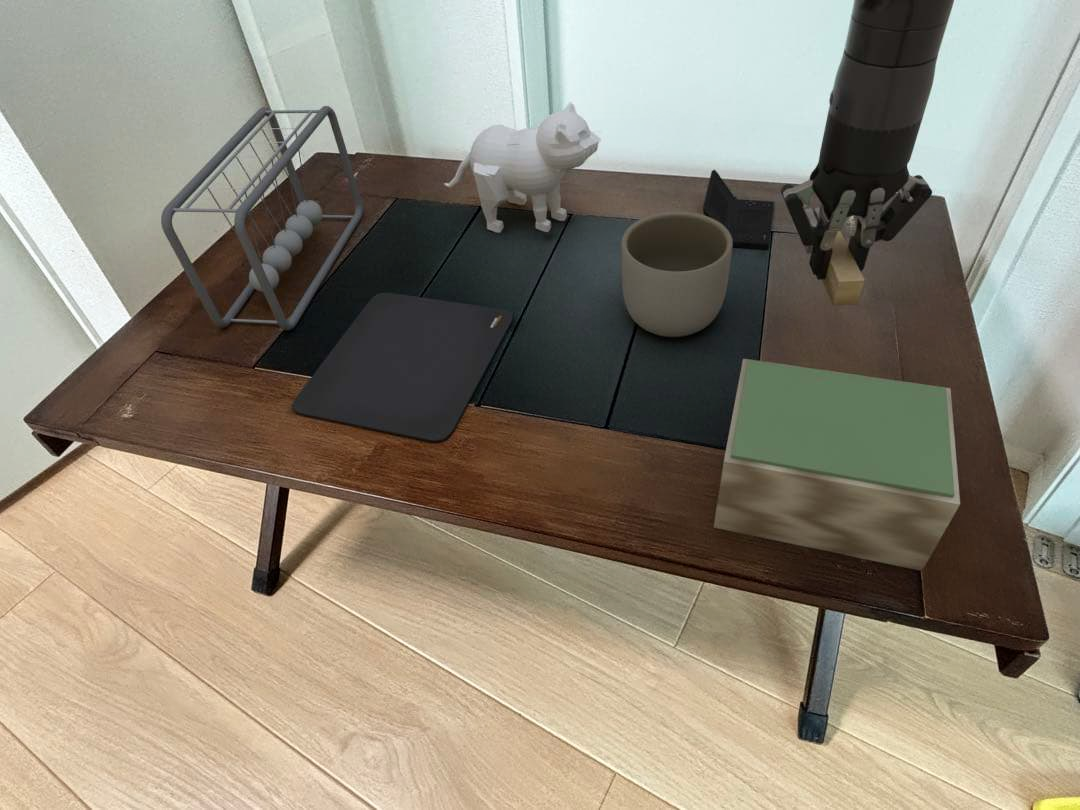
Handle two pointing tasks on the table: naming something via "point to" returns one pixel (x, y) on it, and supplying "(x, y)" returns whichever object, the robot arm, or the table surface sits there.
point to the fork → (839, 269)
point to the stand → (832, 507)
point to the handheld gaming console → (739, 215)
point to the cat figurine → (528, 164)
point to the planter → (675, 271)
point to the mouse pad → (406, 366)
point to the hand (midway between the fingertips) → (834, 273)
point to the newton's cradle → (296, 225)
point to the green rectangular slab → (846, 427)
